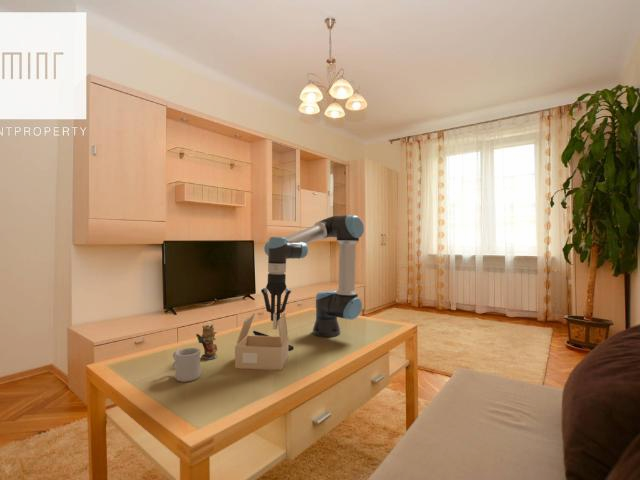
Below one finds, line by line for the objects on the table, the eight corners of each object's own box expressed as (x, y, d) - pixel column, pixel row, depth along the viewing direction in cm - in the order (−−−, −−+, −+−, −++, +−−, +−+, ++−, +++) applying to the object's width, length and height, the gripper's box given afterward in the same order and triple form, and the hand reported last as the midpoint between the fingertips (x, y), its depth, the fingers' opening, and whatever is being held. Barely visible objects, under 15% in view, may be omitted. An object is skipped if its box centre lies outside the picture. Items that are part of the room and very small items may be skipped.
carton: (246, 355, 151) (246, 335, 151) (288, 356, 150) (288, 336, 149) (235, 368, 136) (235, 346, 136) (281, 370, 135) (281, 348, 134)
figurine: (221, 355, 150) (221, 322, 150) (210, 361, 143) (210, 327, 143) (204, 353, 153) (204, 320, 153) (192, 359, 146) (192, 325, 146)
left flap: (246, 334, 150) (253, 313, 150) (247, 334, 150) (254, 313, 149) (236, 343, 137) (244, 320, 137) (237, 343, 137) (245, 321, 137)
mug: (206, 375, 130) (205, 349, 130) (187, 384, 122) (187, 357, 121) (182, 369, 135) (182, 344, 135) (163, 378, 127) (163, 352, 127)
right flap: (286, 335, 148) (283, 313, 148) (287, 335, 148) (285, 313, 148) (280, 345, 136) (277, 320, 136) (282, 345, 136) (279, 320, 135)
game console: (295, 349, 159) (295, 330, 159) (272, 357, 150) (272, 337, 150) (274, 342, 170) (274, 324, 170) (252, 348, 161) (252, 329, 160)
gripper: (259, 273, 139) (257, 330, 139) (290, 274, 138) (288, 331, 138) (264, 271, 146) (262, 325, 147) (293, 272, 145) (291, 327, 145)
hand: (275, 328), depth 142 cm, fingers closed
